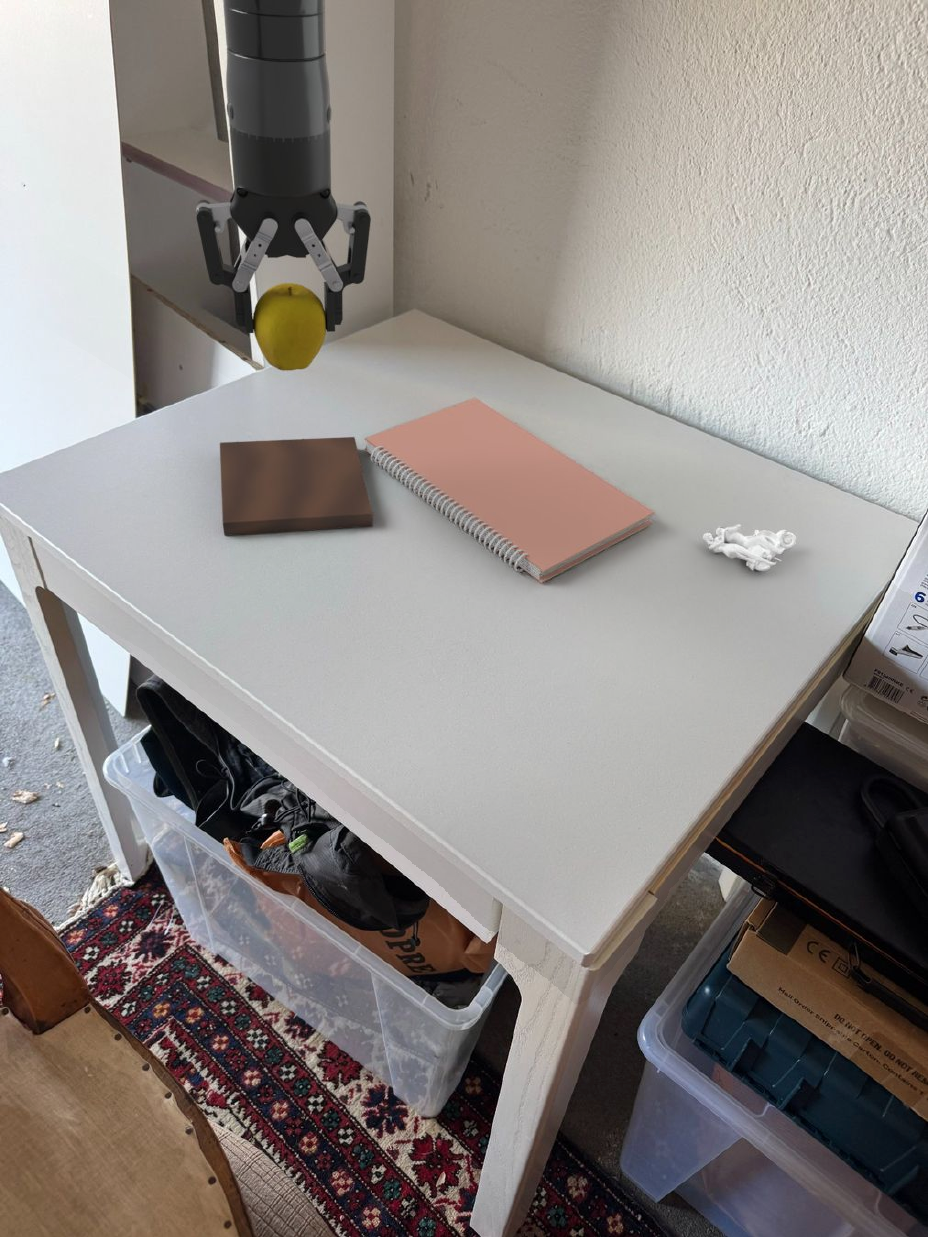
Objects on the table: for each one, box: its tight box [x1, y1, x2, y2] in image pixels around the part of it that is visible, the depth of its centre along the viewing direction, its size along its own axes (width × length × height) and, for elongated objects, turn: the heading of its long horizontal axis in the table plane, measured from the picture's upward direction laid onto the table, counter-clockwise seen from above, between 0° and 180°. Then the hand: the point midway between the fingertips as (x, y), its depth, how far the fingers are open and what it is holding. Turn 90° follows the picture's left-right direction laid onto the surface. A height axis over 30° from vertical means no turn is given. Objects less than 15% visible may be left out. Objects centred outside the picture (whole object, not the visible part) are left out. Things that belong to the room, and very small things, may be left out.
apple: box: [252, 282, 327, 372], centre depth 81 cm, size 6×6×8 cm
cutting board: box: [219, 436, 374, 536], centre depth 93 cm, size 14×14×2 cm
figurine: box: [702, 523, 797, 572], centre depth 91 cm, size 3×8×8 cm
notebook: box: [364, 397, 656, 584], centre depth 96 cm, size 27×17×2 cm, turn 41°
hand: (289, 328), depth 81 cm, fingers closed on apple, 6 cm apart
